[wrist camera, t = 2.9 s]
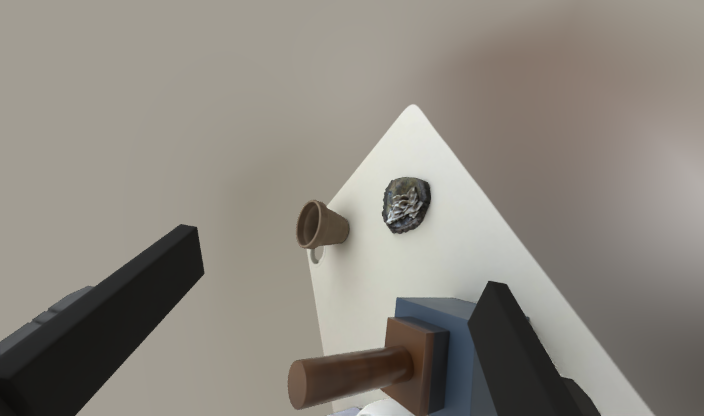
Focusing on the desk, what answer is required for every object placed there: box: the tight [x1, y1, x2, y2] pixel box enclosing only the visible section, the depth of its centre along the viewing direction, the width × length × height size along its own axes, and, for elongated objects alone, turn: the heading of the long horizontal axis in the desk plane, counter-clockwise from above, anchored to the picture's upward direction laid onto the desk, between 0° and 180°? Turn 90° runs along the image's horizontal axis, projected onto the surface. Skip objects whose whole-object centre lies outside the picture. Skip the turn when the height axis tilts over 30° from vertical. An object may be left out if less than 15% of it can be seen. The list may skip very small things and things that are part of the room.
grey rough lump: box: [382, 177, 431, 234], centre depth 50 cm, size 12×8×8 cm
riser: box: [395, 297, 529, 416], centre depth 31 cm, size 10×10×12 cm
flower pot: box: [296, 200, 349, 249], centre depth 63 cm, size 12×11×10 cm
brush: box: [288, 316, 450, 416], centre depth 23 cm, size 7×5×15 cm
